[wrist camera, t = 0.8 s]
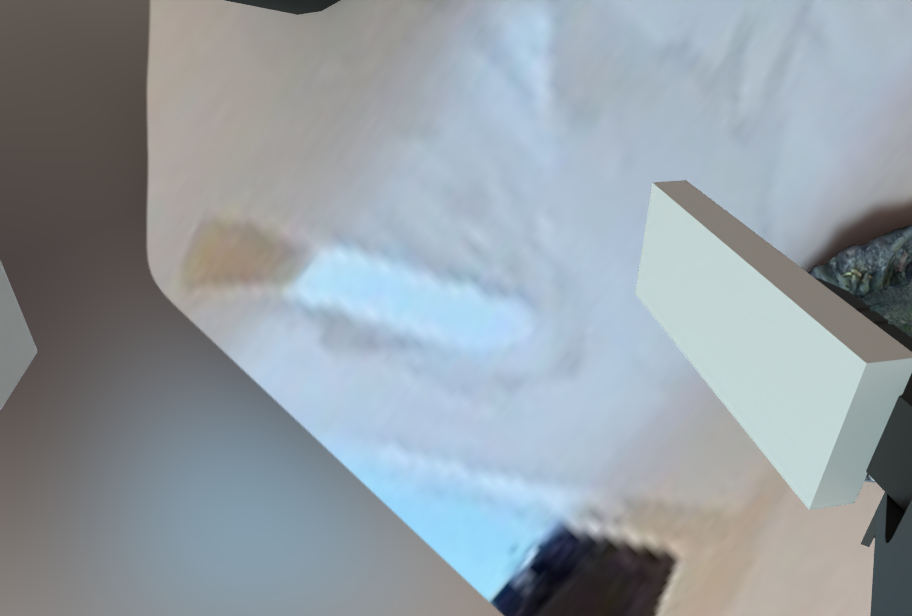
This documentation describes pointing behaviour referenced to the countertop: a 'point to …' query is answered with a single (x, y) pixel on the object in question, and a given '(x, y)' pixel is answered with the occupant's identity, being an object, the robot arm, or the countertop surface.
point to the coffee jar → (290, 5)
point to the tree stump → (877, 277)
